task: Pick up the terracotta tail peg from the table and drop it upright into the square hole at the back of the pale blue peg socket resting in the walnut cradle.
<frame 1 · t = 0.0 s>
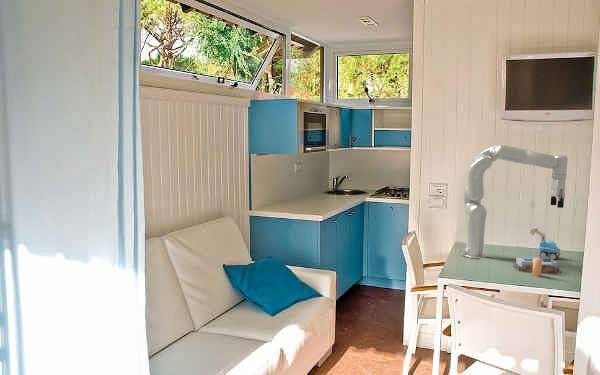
hand: (556, 206, 310), 31 cm above the table, tool pointing down, fingers open, 9 cm apart
pale blue peg socket: (535, 269, 284), point 1 cm above the table, touching cradle
tail peg: (536, 278, 272), on the table
cradle: (535, 272, 284), on the table
toy excavator: (544, 257, 318), on the table
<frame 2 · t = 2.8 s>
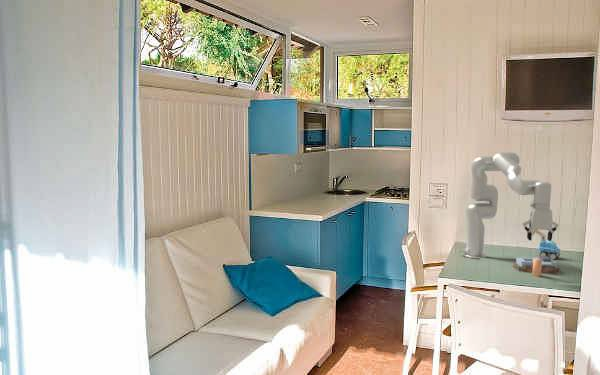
hand: (539, 240, 270), 20 cm above the table, tool pointing down, fingers open, 9 cm apart
nothing on the table moved.
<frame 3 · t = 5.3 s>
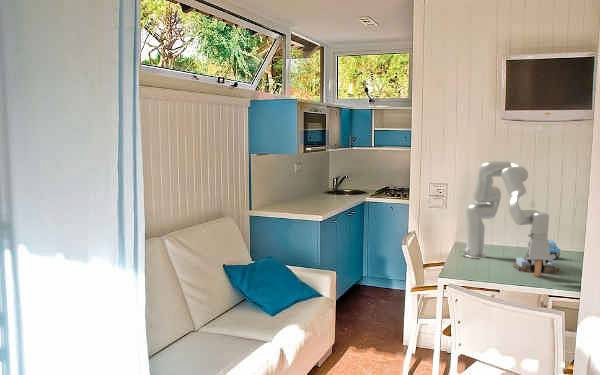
hand: (536, 271, 272), 3 cm above the table, tool pointing down, fingers closed on tail peg, 4 cm apart
tail peg: (536, 278, 272), on the table, touching gripper
everything else where it was.
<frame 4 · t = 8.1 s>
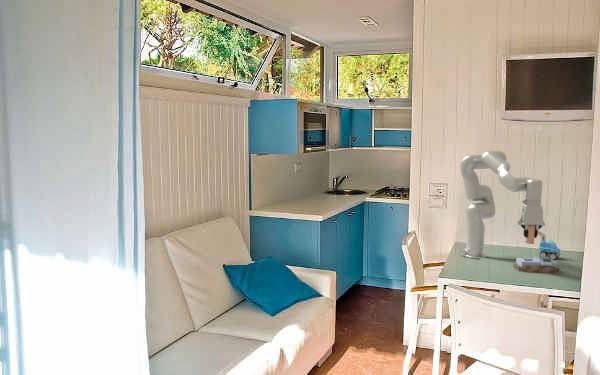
hand: (530, 236, 282), 19 cm above the table, tool pointing down, fingers closed on tail peg, 4 cm apart
tail peg: (529, 243, 282), point 16 cm above the table, touching gripper
everything else where it was.
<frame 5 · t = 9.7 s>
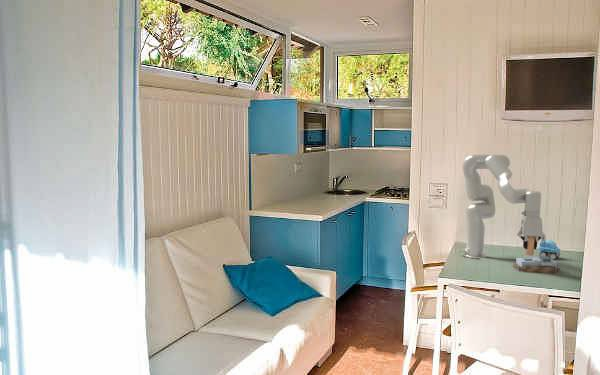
hand: (529, 248, 282), 13 cm above the table, tool pointing down, fingers closed on tail peg, 4 cm apart
tail peg: (529, 254, 283), point 9 cm above the table, touching gripper
everything else where it was.
when the fingers open (8 cm above the table, at t = 11.2 s): tail peg stays where it is, resting on pale blue peg socket.
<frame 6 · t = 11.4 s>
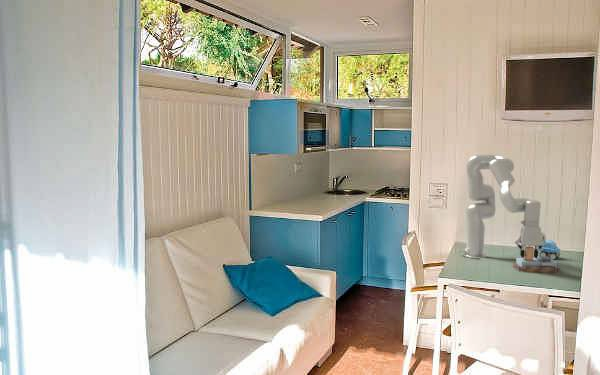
hand: (528, 257, 283), 8 cm above the table, tool pointing down, fingers open, 6 cm apart
pale blue peg socket: (535, 269, 284), point 1 cm above the table, touching cradle, tail peg
tail peg: (528, 265, 284), point 4 cm above the table, touching pale blue peg socket
everything else where it was.
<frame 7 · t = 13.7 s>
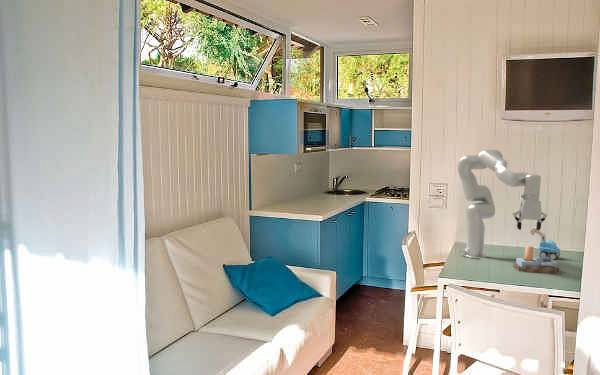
hand: (528, 229, 283), 22 cm above the table, tool pointing down, fingers open, 9 cm apart
nothing on the table moved.
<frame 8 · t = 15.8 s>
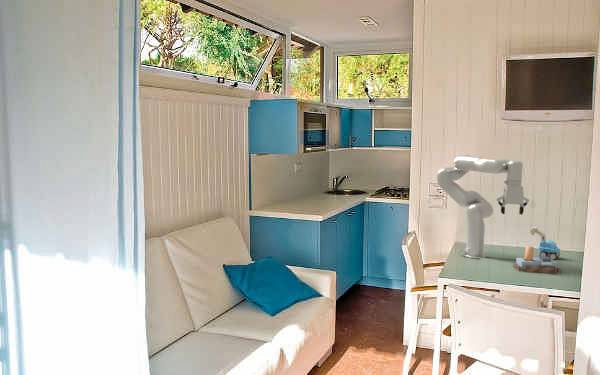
hand: (511, 214, 297), 28 cm above the table, tool pointing down, fingers open, 9 cm apart
nothing on the table moved.
at the end: tail peg 0.0 cm from the target spot on the pale blue peg socket, point 2.0 cm above the pale blue peg socket's base; tail peg tilted 1°; pale blue peg socket 0.0 cm from the cradle (horizontally) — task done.
